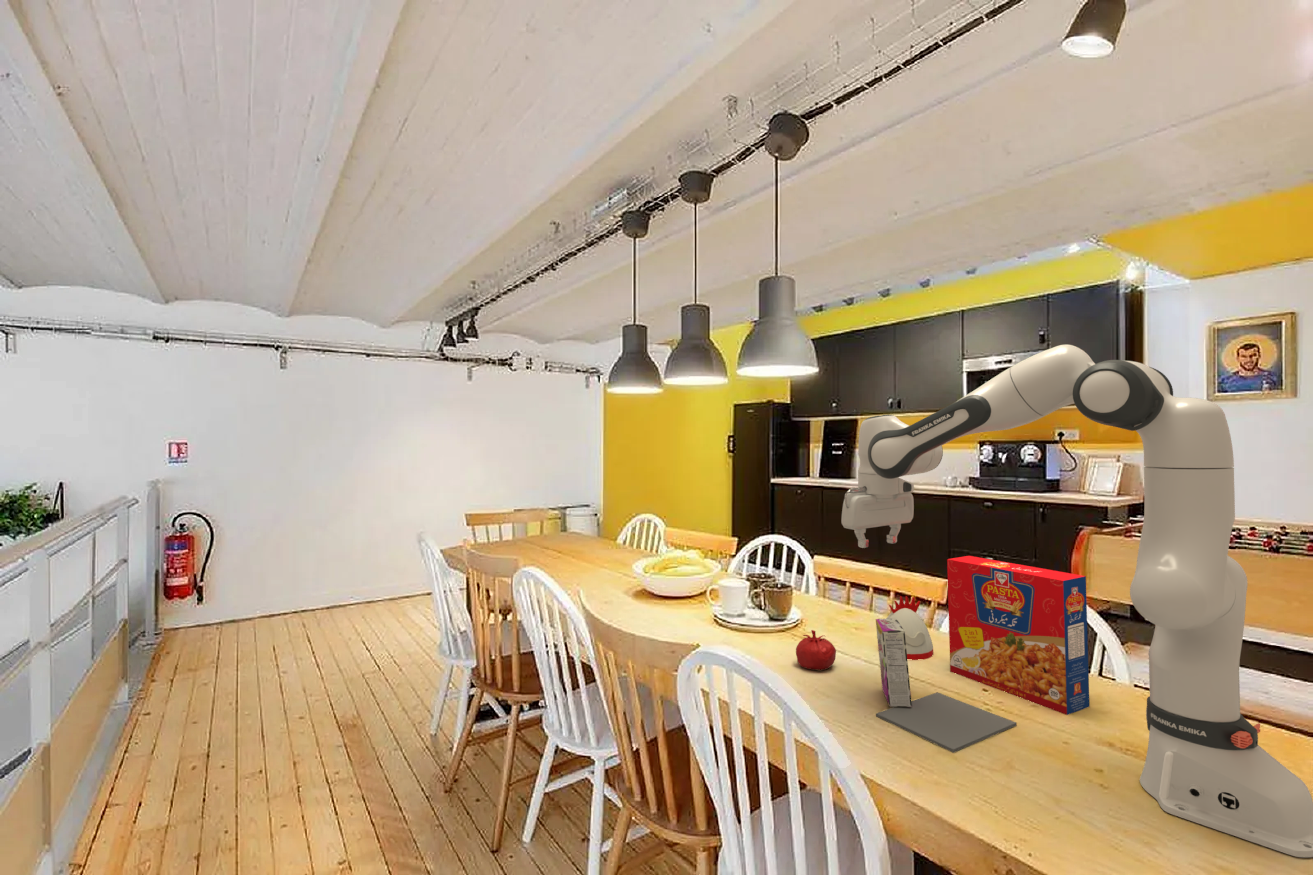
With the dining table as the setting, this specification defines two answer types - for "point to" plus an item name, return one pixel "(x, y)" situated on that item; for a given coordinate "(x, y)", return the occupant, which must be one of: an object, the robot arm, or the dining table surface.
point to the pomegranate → (815, 653)
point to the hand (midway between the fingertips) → (877, 545)
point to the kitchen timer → (913, 629)
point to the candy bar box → (893, 662)
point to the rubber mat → (946, 721)
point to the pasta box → (1020, 630)
